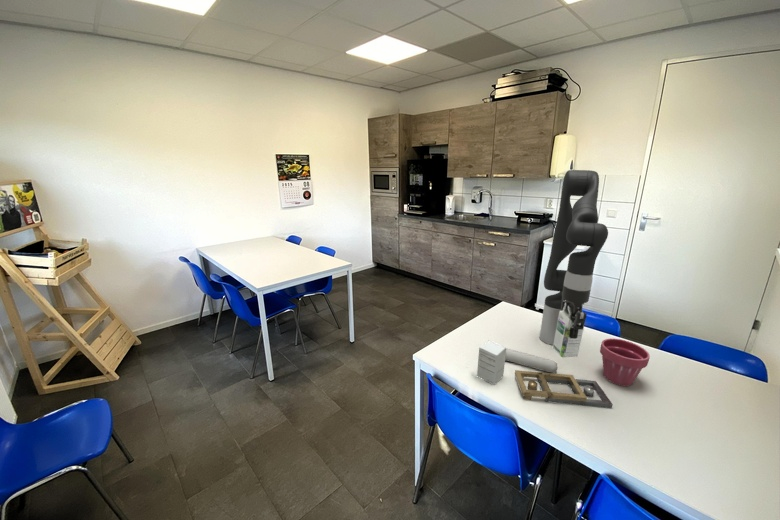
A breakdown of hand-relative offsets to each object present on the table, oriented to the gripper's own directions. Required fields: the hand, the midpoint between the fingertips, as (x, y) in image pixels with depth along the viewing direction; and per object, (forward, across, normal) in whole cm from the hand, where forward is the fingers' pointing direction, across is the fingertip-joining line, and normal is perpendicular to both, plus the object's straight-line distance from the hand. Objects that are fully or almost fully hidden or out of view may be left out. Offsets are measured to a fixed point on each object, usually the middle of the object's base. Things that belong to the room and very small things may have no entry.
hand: (568, 332), depth 105 cm
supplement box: (+23, +4, +23) cm, 33 cm away
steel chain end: (+23, 0, -4) cm, 24 cm away
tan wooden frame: (+23, 0, +4) cm, 24 cm away
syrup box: (+8, 0, 0) cm, 8 cm away
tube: (+24, +15, +9) cm, 30 cm away
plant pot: (+24, +11, -24) cm, 36 cm away
